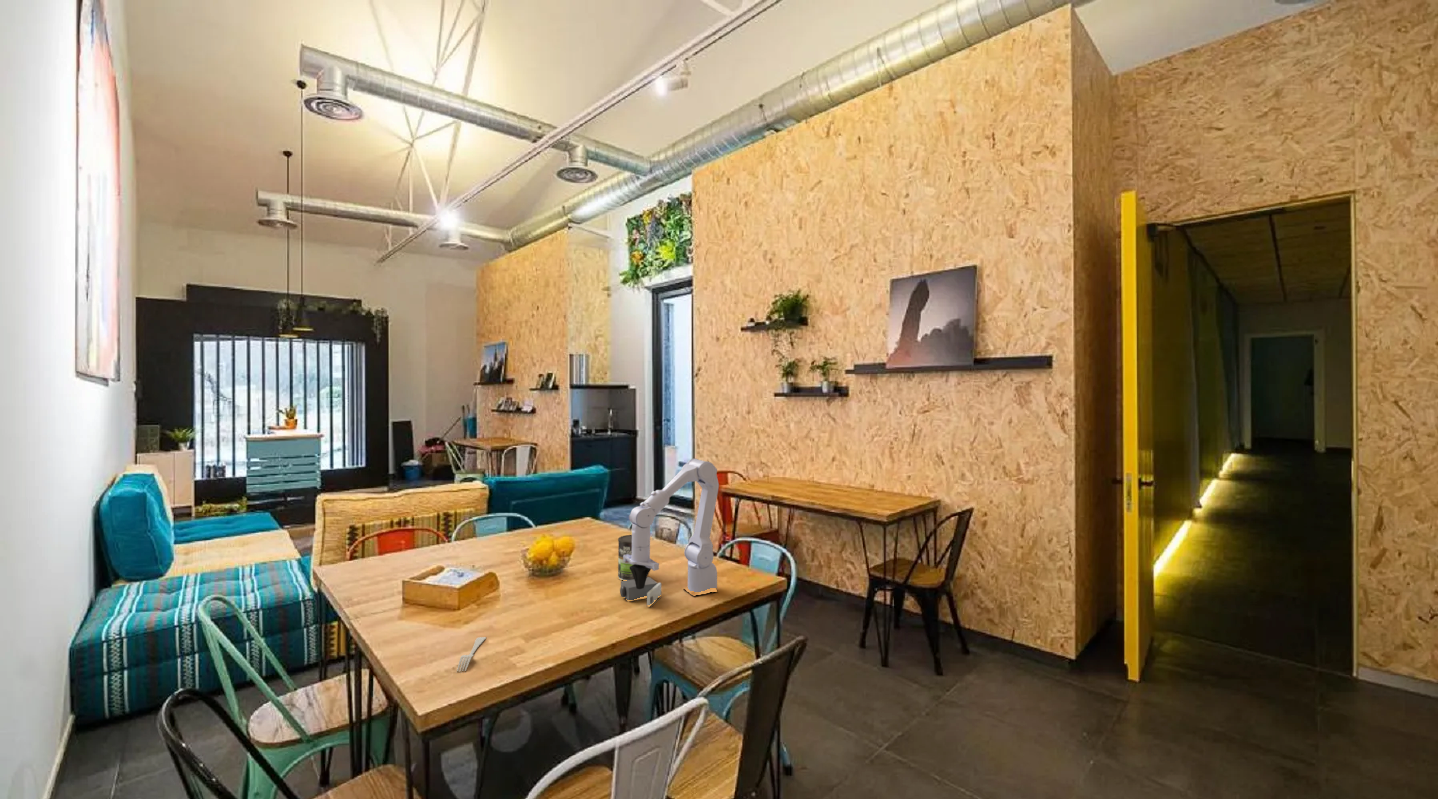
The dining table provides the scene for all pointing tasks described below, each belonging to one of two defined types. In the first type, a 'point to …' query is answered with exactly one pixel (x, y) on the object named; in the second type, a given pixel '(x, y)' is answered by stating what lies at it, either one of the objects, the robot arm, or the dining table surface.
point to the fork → (476, 645)
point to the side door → (653, 594)
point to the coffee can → (623, 549)
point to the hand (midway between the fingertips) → (640, 588)
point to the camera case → (635, 589)
